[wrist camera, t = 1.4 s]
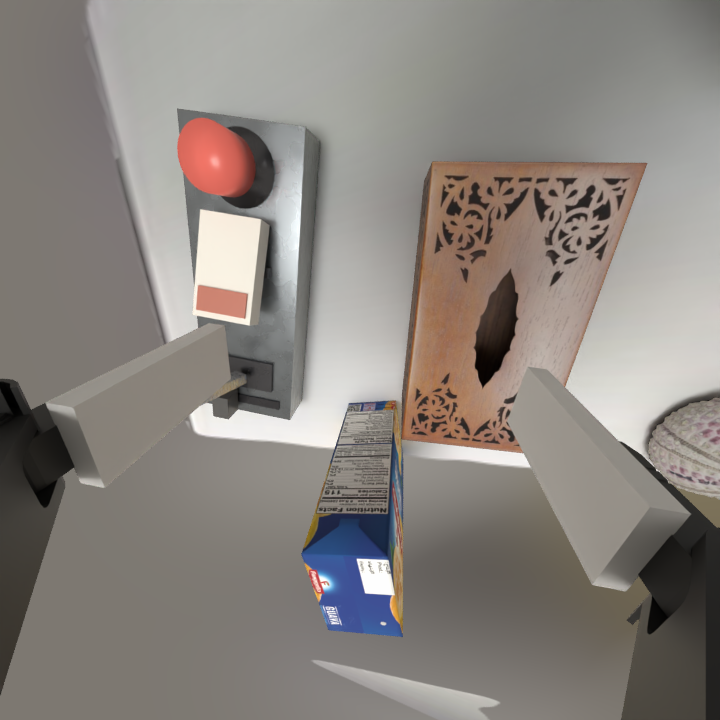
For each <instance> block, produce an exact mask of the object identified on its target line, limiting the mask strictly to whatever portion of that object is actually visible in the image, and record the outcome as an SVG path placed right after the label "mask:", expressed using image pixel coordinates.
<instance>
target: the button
mask: <svg viewBox="0 0 720 720" xmlns="http://www.w3.org/2000/svg"><path fill="white" fill-rule="evenodd" d="M177 149H178V158H179V162H180V165H181V168H182V170H183V172H184V174H185V175H186V177H187V178H188V180H189V181H190V182H191V183H192V184H193V185H194V186H195V187H196V188H198V189H199V190H201V191H203V192H206V193H210V194H215V195H220V196H226V197H239V196H242V195H244V194H245V193H246V192H247V191H248V190H249V189H250V188H251V186H252V184H253V182H254V178H255V170H256V169H255V160H254V157H253V154H252V151H251V149H250V147H249V146H248V144H247V143H246V142H245V140H244V139H243V138H242V137H240V136H239V135H238V134H236V133H234V132H233V131H231V130H229V129H227V128H226V127H224V126H222V125H220V124H219V123H217V122H215V121H213V120H211V119H208V118H196V119H193V120H191V121H189V122H188V123H187V124H186V125H185V126H184V127H183V129H182V131H181V133H180V135H179V139H178V147H177Z"/></svg>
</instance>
